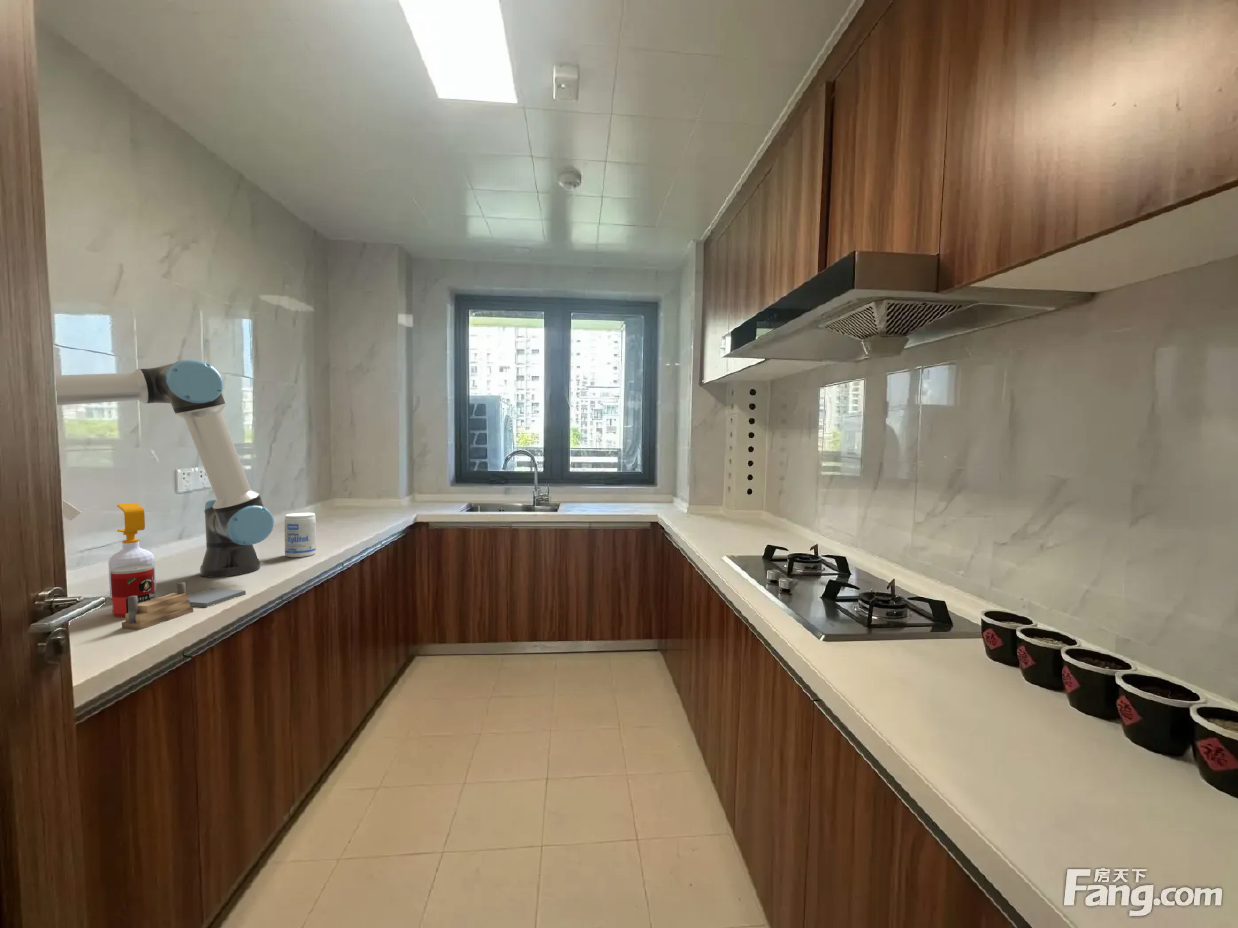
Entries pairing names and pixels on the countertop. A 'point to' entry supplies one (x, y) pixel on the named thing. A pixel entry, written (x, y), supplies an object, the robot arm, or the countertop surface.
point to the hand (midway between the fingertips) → (64, 520)
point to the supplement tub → (300, 534)
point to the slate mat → (213, 596)
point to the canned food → (131, 586)
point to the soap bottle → (131, 541)
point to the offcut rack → (157, 609)
